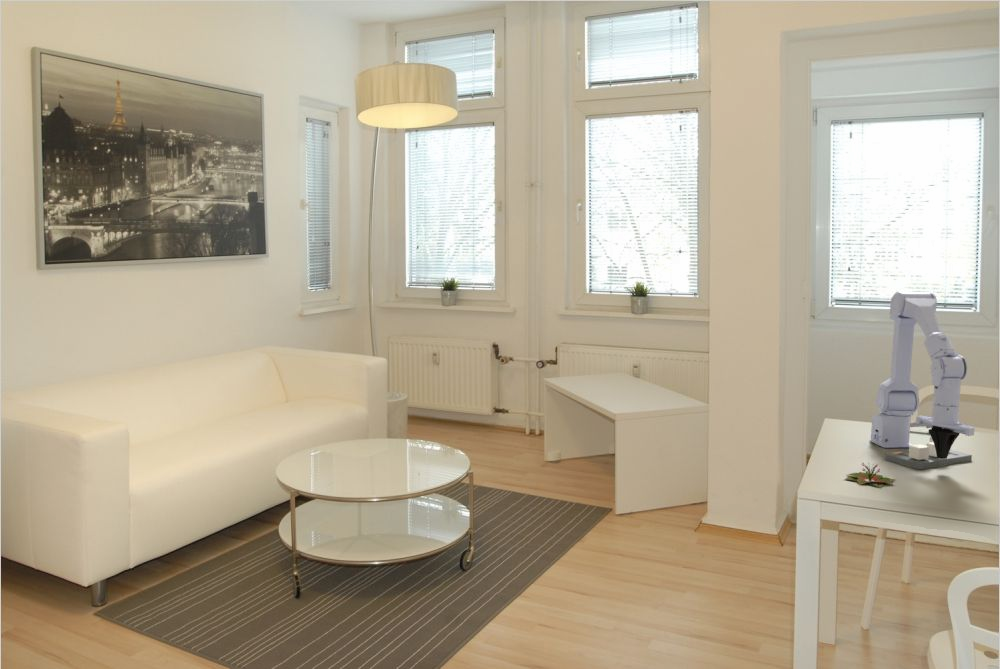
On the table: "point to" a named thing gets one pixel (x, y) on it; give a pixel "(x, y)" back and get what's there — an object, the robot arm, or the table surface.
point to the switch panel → (931, 461)
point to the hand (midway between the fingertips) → (942, 457)
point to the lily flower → (869, 477)
